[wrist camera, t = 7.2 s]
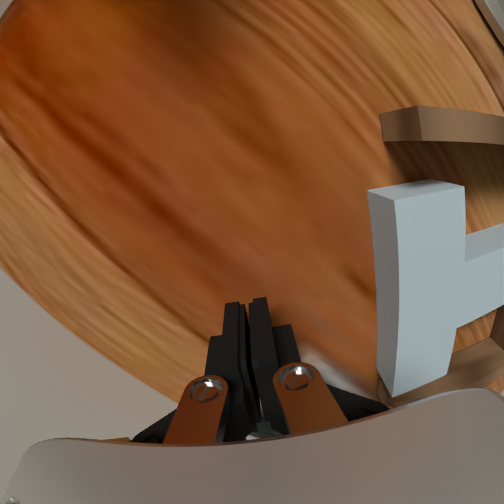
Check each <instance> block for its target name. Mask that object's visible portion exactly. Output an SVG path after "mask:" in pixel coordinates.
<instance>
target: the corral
mask: <svg viewBox="0 0 504 504" xmlns="http://www.w3.org/2000/svg"><path fill="white" fill-rule="evenodd" d="M380 120H381V127H382V134H383V142H388V141H455V142H476V143H490V144H502V145H504V117H502V116H496V115H491V114H485V113H479V112H472V111H465V110H458V109H449V108H439V107H428V106H414V107H409V108H404V109H400V110H395V111H391V112H386V113H382V114H380ZM502 376H504V305H502V306H500V307H498V310H497V314H496V318H495V322H494V325H493V329H492V332H491V335H490V338H487V339H485V340H483V341H481V342H479V343H477V344H475V345H473V346H470V347H468V348H466V349H463V350H461V351H459V352H456V353H454V354H452V355H451V358H450V363H449V367H448V371H447V374H446V375H444V376H442V377H440V378H438V379H436V380H434V381H431V382H429V383H427V384H425V385H422V386H420V387H418V388H415V389H413V390H410V391H408V392H405V393H403V394H400V395H398V396H395V397H391V395H390V393H389V391H388V389H387V387H386V385H385V383H384V382H383V380H382V379H380V380H379V383H378V389H377V394H378V396H379V398H380V400H381V402H382V404H385V405H386V406H393V403H394V402H399V401H406V400H412V399H417V398H423V397H428V396H433V395H437V394H441V393H445V392H449V391H454V390H460V389H469V388H483V387H485V386H487V385H488V384H490V383H492V382H494V381H495V380H497V379H499V378H500V377H502Z"/></svg>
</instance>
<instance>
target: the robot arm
mask: <svg viewBox="0 0 504 504" xmlns="http://www.w3.org/2000/svg"><path fill="white" fill-rule="evenodd" d="M474 1H475V2H476V4H477V6H478V7H479V9H480V11H481V12H482V14H483V16H484V18H485V19H486V21H487V23H488V24H489V26H490V27H491V29H492V30H493V32H494V34H495V35H496V37H497V38H498V40H499V41H500V42H501V44H502V45H503V47H504V0H474ZM248 305H249V322H248V318H247V313H246V308H245V304H241V305H240V304H239V301H238V302H232V303H226V304H225V311H224V322H223V332H222V335H219V336H211V337H210V341H209V347H208V354H207V361H206V368H205V374H204V376H202V377H198V378H196V379H194V380H193V381H191V382H190V383H189V384H188V385H187V386H186V388H185V390H184V392H183V395H182V397H181V400H180V402H179V404H178V407H177V409H175V410H174V411H172V412H171V413H169V414H168V415H166V416H165V417H163V418H162V419H160V420H159V421H157V422H156V423H154V424H153V425H151V426H149V427H148V428H147V429H145V430H143V431H142V432H140V433H139V434H138V435H136V436H135V437H134V438H133V440H130V439H129V437H125V438H117V439H107V440H97V439H86V438H55V439H48V440H44V441H41V442H38V443H35V444H33V445H32V446H31V447H29V448H28V449H27V451H26V452H25V453H24V454H23V456H22V457H21V459H20V460H19V462H18V463H17V465H16V467H15V469H14V471H13V472H12V474H11V476H10V478H9V481H8V483H7V485H6V487H5V489H4V491H3V494H2V497H1V499H0V504H504V397H503V396H502V395H500V394H498V393H497V392H495V391H493V390H490V389H486V388H469V389H460V390H454V391H449V392H445V393H441V394H437V395H433V396H428V397H423V398H417V399H412V400H406V401H399V402H394V403H393V406H386V405H385V404H382V403H380V402H378V401H374V400H371V399H368V398H365V397H362V396H359V395H356V394H353V393H350V392H347V391H344V390H341V389H339V388H336V387H333V386H330V385H327V384H325V382H324V380H323V378H322V377H321V375H320V373H319V372H318V370H317V369H316V368H315V367H314V366H312V365H310V364H307V363H301V360H300V356H299V352H298V349H297V345H296V341H295V338H294V334H293V331H292V327H291V324H288V325H282V326H277V327H271V321H270V316H269V310H268V304H267V298H266V297H262V298H256V299H253V303H248ZM249 324H250V327H249ZM259 397H260V398H259ZM260 401H261V405H262V409H263V413H264V417H265V421H266V422H268V421H270V424H271V428H272V429H274V430H276V431H278V432H280V433H281V434H283V436H276V437H269V438H262V439H254V440H246V437H247V436H248V435H249V434H250V433H251V432H254V431H257V430H256V423H261V411H260Z"/></svg>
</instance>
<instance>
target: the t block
mask: <svg viewBox="0 0 504 504" xmlns="http://www.w3.org/2000/svg"><path fill="white" fill-rule="evenodd" d="M367 197H368V204H369V212H370V220H371V229H372V239H373V250H374V262H375V277H376V299H377V365H376V369H377V371H378V372H379V374H380V376H381V378H382V380H383V382H384V383H385V385H386V387H387V389H388V391H389V393H390V395H391V397H395V396H398V395H400V394H403V393H405V392H408V391H410V390H413V389H415V388H418V387H420V386H422V385H425V384H427V383H429V382H431V381H434V380H436V379H438V378H440V377H442V376H444V375H446V374H447V371H448V367H449V363H450V358H451V354H452V349H453V345H454V340H455V335H456V329H457V328H458V327H461V326H463V325H465V324H467V323H469V322H471V321H473V320H475V319H477V318H479V317H481V316H483V315H485V314H487V313H489V312H491V311H493V310H495V309H496V308H498V307H500V306H502V305H504V223H502V224H499V225H496V226H493V227H490V228H487V229H483V230H480V231H477V232H474V233H471V234H468V235H466V214H465V189H464V186H460V185H456V184H452V183H448V182H443V181H439V180H434V179H426V180H421V181H415V182H409V183H404V184H399V185H393V186H388V187H383V188H377V189H372V190H367Z"/></svg>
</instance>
